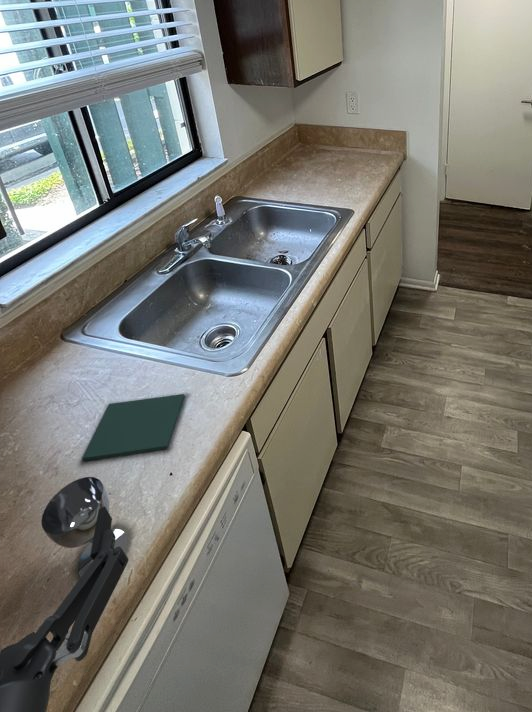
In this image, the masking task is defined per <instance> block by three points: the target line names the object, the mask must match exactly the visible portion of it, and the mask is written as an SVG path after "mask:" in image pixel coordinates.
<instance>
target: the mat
mask: <svg viewBox="0 0 532 712" xmlns="http://www.w3.org/2000/svg"><path fill="white" fill-rule="evenodd" d="M185 399H186V395H185V393H182V394H173V395H166V396H159V397H151V398H144V399H137V400H136V399H135V400H128V401H121V402H113V403H108V405H107V407H106V409H105V411H104V413H103V415H102V417H101V419H100V421H99V423H98V426H97V427H96V429H95V431H94V433H93V435H92V437H91V440H90V441H89V443H88V445H87V447H86V449H85V451H84V454H83V455H82V457H81V459H82V462H86V461H87V462H88V461H93V460H101V459H107V458H115V457H122V456H127V455H128V456H129V455H135V454H142V453H147V452H154V451H155V452H156V451H162V450H168V449H169V446H170V443H171V440H172V438H173V435H174V432H175V429H176V425H177V423H178V419H179V416H180V413H181V410H182V408H183V404H184V401H185Z"/></svg>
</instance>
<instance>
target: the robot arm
mask: <svg viewBox="0 0 532 712" xmlns="http://www.w3.org/2000/svg"><path fill="white" fill-rule="evenodd" d="M112 522H113V517H112V515H111V514H110V512H109V513H108V511H107V509H106V508H105V506H104V507H102V508H100V509H99V510H98V516H97V521H96V527H95V532H94V538H93V543H92V549H91V554H90V556H91V557H92V559H93V562H92V563H91V564H90V566H89V567H88V568H87V570H86V571H85V572H84V574H83V575H82V576H80V578H78V581H77V582H76V583H75V584H74V586H73V587H72V588H71V590H70V591H69V592H68V593H67V595H66V596H65V598H64V599H63V601H62V602H61V603H60V604H59V606H58V607H57V609H55V611H54V613H53V614H52V615H50V616H48V617H46V618H45V619H44V621H43V622H42V624H41V625H40V626H39V628H38V629H37V630H36V632H35V631H31V632H29V634H27V635H25V636H24V637H23V638H22V639H20V640H19V641H17V642H16V643H12V644H9V645H7V646H6V647H4V648H2V649H0V712H47V710H48V706H49V701H50V694H51V683H52V679H53V676H54V675H55V673H56V671H57V669H58V667H59V666H60V665H63V663H66V662H67V661H68V662H69V661H70V660H72V659H74V660H75V661H76V662H81V661H82V660H83V659H85V658H86V656H87V655H88V652H89V648H90V644H91V640H92V637H93V633H94V631H95V629H96V627H97V625H98V623H99V622H100V619H101V617H102V615H103V613H104V611H105V609H106V607H107V605H108V603H109V601H110V599H111V597H112V595H113V593H114V591H115V589H116V587H117V585H118V583H119V581H120V579H121V577H122V575H123V573H124V571H125V569H126V567H127V565H128V564H129V557H128V556H127V554H126V552H125V553H124V551H123V550H122V548H121V547H120V546H119V547H116V548H115V549H114V546H115V539H116V536H115V534H114V532H113V531H112V529H113V528H112ZM70 628H71V630H70ZM69 630H70V631H69ZM50 633H51V635H52V639H51V641H50V640H49V639H48V638H47V636H48V635H49V634H50Z"/></svg>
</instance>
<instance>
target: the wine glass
mask: <svg viewBox="0 0 532 712" xmlns="http://www.w3.org/2000/svg"><path fill="white" fill-rule="evenodd" d="M104 506H105V508H106V509H107V511H108V513H109V514H110V500H109V496H108V492H107V490H106V488H105V485H104V484H103V483H102V481H101V480H100V479H99V478H97V477H94V476H84V477H79V478H77V479H76V480H73V481H72V482H69V483H68V484H66V485H65V486H64V487H62V488H61V489H59V490H58V492H56V494H54V495H53V497H52V498H51V499H50V500H49V501H48V503H47V505H46V507H45V508H44V510H43V512H42V516H41V519H40V521H41V527H42V530H43V531H44V533H45V534H46V536H47V537H48V538H49V539H50V540H51V541H52V542H53V543H55V544H56V545H57V546H60V547H62V548H66V549H76V548H80V547H82V546H84V545H86V544H88V545H87V546H86V547H85V549H84V550H83V552H82V554H81V556H80V558H79V561H78V566H77V572H78V575H79V577H81V576H82V575H83V574H84V572H85V571H86V570H87V568H88V567H89V566H90V564H91V563H92V562H93V559H92V557H91V556H90V554H91V549H92V543H93V538H94V532H95V527H96V521H97V516H98V510H99V509H100V508H102V507H104ZM111 529H112V531H113V532H114V534H115V536H116V539H115V546H114V549H115V548H116V547H119V546H120V547H121V548H122V550H123V551H124V553H125V554H126V551H127V548H128V541H129V540H128V536H127V533H126V532H125V531H124V530H122V529H119V528H111Z"/></svg>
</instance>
